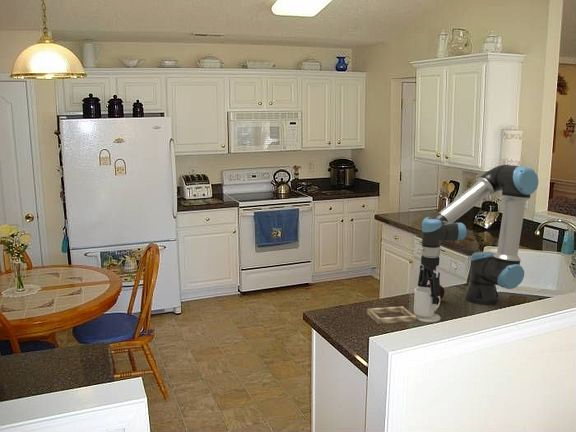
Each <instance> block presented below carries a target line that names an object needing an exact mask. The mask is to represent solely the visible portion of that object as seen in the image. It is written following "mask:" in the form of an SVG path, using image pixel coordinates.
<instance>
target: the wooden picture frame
mask: <svg viewBox="0 0 576 432" xmlns="http://www.w3.org/2000/svg"><path fill="white" fill-rule="evenodd" d="M393 312H394V313H401V314H403V315H401V316H400V315H399V316H391V317H380V316H379V315H380V314H391V313H392V314H393ZM366 314H367V315H368V317H370V318H371V319H372V320H373V321H374V322H376V324H377V325H378V324H379V325H381V324H394V323H396V324H397V323H407V322H408V323H409V322H410V323H411V322H416V321H417V320H416V316H415V315H414V313H412V312H411V311H409V310H408V309H407V308H405V306H388V307H387V306H386V307H374V308H372V307H371V308H366ZM378 314H379V315H378Z"/></svg>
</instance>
